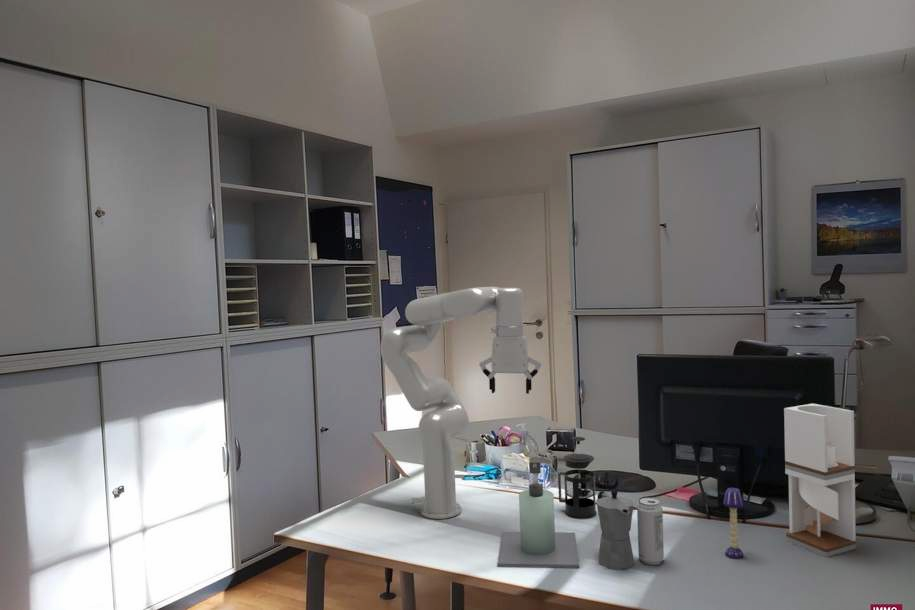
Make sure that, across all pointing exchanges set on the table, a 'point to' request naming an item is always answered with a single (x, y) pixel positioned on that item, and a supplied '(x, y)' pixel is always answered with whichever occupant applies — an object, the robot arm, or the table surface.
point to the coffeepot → (615, 531)
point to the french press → (578, 486)
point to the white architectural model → (820, 478)
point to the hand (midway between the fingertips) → (510, 392)
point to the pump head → (535, 467)
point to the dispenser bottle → (537, 535)
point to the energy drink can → (650, 531)
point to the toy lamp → (733, 520)
